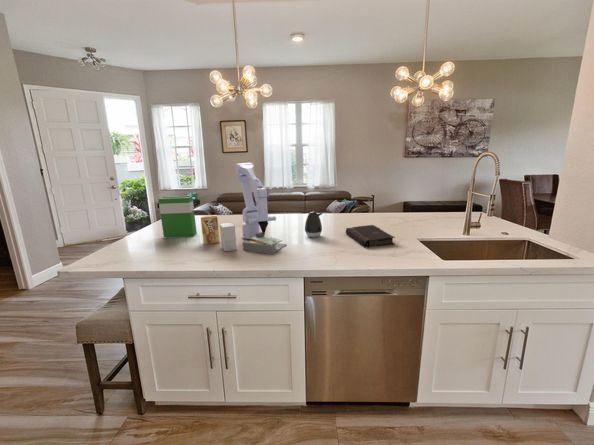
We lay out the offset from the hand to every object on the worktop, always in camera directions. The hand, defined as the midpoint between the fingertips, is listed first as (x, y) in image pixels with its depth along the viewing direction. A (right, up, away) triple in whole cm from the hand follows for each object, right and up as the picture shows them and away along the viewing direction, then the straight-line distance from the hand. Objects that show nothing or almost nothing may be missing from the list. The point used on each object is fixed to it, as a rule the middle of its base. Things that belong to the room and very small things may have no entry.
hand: (263, 234), depth 159 cm
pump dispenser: (+28, -2, +14) cm, 31 cm away
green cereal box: (-54, -2, +22) cm, 59 cm away
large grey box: (+1, -7, -3) cm, 7 cm away
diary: (+59, -3, +6) cm, 60 cm away
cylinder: (-2, -5, -6) cm, 8 cm away
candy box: (-31, -5, +7) cm, 32 cm away
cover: (+2, -3, -5) cm, 6 cm away
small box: (-18, -7, -3) cm, 20 cm away
